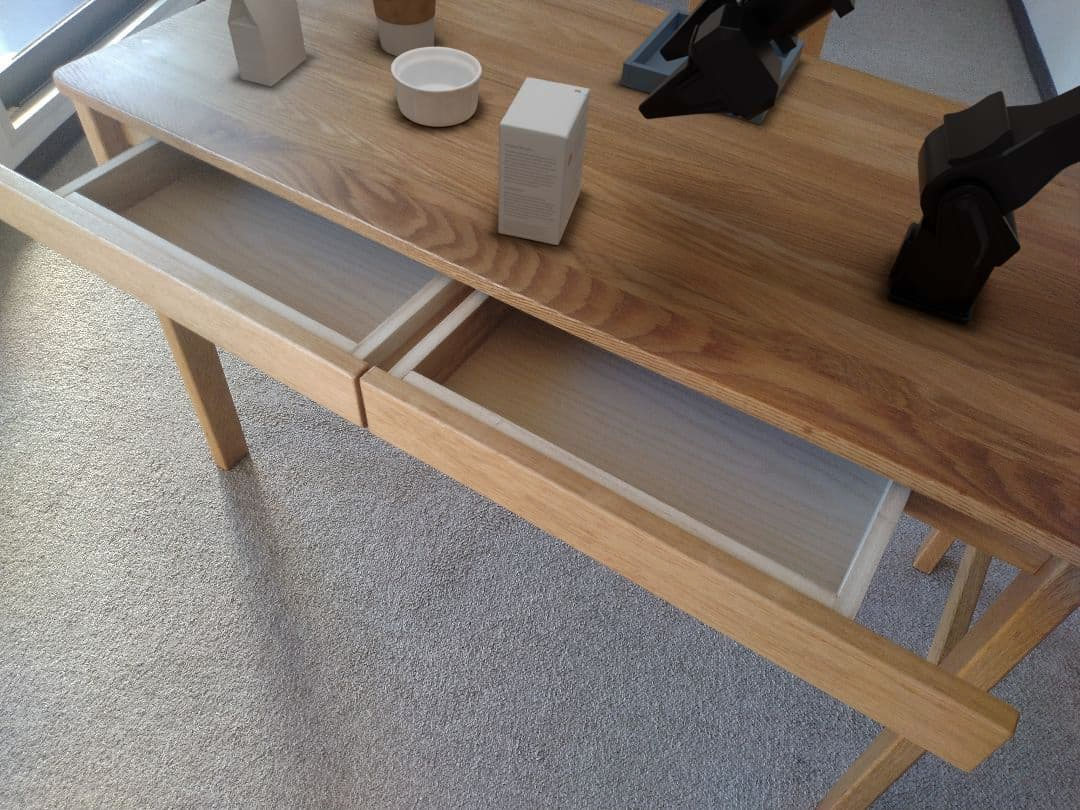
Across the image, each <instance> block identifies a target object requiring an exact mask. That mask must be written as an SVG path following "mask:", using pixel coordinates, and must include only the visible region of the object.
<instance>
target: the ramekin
mask: <svg viewBox="0 0 1080 810" xmlns="http://www.w3.org/2000/svg"><path fill="white" fill-rule="evenodd" d="M390 71H391V72H390V74H391V77H392V79H393V82H394V87H395V95H396V101H397V105H398V108H399V111H400V112H401V114H402V115H404V117H405V118H406V119H408V120H410V121H411V122H413V123H416V124H418V125H422V126H425V127H434V128H435V127H438V128H439V127H441V128H442V127H443V128H444V127H451V126H456V125H459V124H462V123H464V122H466V121H467V120H469V119H470V118H472V117H473V115H474V114H475V113H476V111H477V107H478V103H479V102H478V101H479V89H480V81H481V80H482V79H481V78H482V75H483V74H482V73H483V68H482V65H481V63H480V61H479V60H478V59H477V58H476V57H475V56H473V55H472V54H470V53H467V52H466V51H463V50H460V49H456V48H452V47H445V46H433V47H424V48H417V49H413V50H410V51H407V52H405V53H403V54H401V55H399V56H396V57H395V58H394V60H393V61H392V62H391V65H390Z"/></svg>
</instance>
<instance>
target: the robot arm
mask: <svg viewBox="0 0 1080 810" xmlns="http://www.w3.org/2000/svg"><path fill="white" fill-rule="evenodd" d="M855 10H856V0H700V2H699V3H698V4H697V5H696V6H695V7H694V9H693V10H692V11H691V14H690V15H689V16H688V17H687V18H686V19H685V21H684V22H683V23H682V24H681V25H680V26H679V28H678V29H677V30H676V31H675V32H674V33H673V35H672V36H671V37H670V38H669V39H668V40H667V42H666V43H665V44H664V45H663V46H662V47H661V49H660V54H661V55H662V57H663V58H664V59H665V60H666V61H672V60H676V59H679V58H683V57H686V56H688V58H687V59H686V60H685V61H684V62H683V63H682V64H681V65H680V66H679V67H678V68H677V69H676V70H675V71H674V72H673V73H672V74H671V75H670V76H668V77H667V78H666V79H665V80H664V81H663V82H662V83H661V84H660V85H659V86H658V87H657V88H656V89H655V90H654V91H653V92H652V93H649V94H648V95H647V96H646V98H644V99H643V101H641V103H639V104H638V111H639V113H640V114H641V115H642V117H643V118H644V119H645V120H655V119H664V118H665V119H666V118H673V117H674V118H675V117H684V116H695V115H707V114H713V115H714V114H721V113H732V114H733V115H734V116H735V117H734V118H736V117H738V116H742V118H743V119H745V120H744V121H746V120H747V122H750V120H751V119H753V118H755V117H756V116H758V115H759V114H761V113H763V112H764V111H766V110H768V109H769V108H770V109H771V108H773V107H774V106H775V102H776V100H777V98H776V95H777V92H778V88H779V83H780V76H781V70H782V64H783V62H782V61H781V59H780V58H779V56H778V55H777V53H776V52H775V50H774V49H773V47H772V46H771V44H770V43H769V42H770V41H772V40H774V41H775V43H776V44H777V46H778V47H779V49H780V51H781V52H782V54H783V55H784V54H786V53H788V52H789V51H791V50H792V49H794V48H795V47H797V42H798V40H799V35H800V34H801V33H803V32H804V31H806V30H807V29H809V28H811V27H812V26H813V25H815V24H817V23H818V22H820V21H821V20H823V19H825V17H827V16H829V15H831V13H833V12H835V13H836V15H837V16H838V17H839V19H842V18H843V17H845V16H847V15H848V14H850V13H851V12H853V11H855ZM775 99H776V100H775ZM770 109H769V110H770ZM743 119H742V120H743ZM942 119H943V123H942V124H941V125H939V126H937V127H936V128H935V129H933V130H931V131H930V132H929V133H928V135H927V136H926V137H925V138H924V141H923V142H922V145H921V147H920V149H919V151H918V154H917V174H918V175H917V176H918V177H917V178H918V191H919V192H918V193H919V206H920V209H921V212H922V216H921V218H920V220H919V222H918V223H917V222H912V223H910V224H909V226H908V227H907V229H906V232H905V234H904V236H903V238H902V240H901V242H900V245H899V247H898V250H897V251H896V254H895V256H894V258H893V260H892V263H891V266H890V268H889V273H888V275H887V277H888V279H889V280H890V281H891V283H890V285H889V288H888V292H887V298H888V299H889V301H893V302H896V303H898V304H902V305H905V306H908V307H911V308H914V309H917V310H921V311H924V312H927V313H929V314H931V315H932V314H933V315H936V316H939V317H942V318H945V319H948V320H951V321H954V322H957V323H959V324H963V325H965V324H968V323H969V322H970V320H971V319H972V316H973V311H974V306H975V303H976V300H977V299H978V297H979V295H980V294H981V292H982V290H983V288H984V287H985V285H986V283H987V281H988V280H989V279H990V277H991V275H992V273H993V271H994V269H995V268H1000V267H1002V266H1003V265H1004V264H1006V263H1007V262H1008V261H1009V260H1010V259H1011V258H1013V257H1014V256H1015V255H1016V254H1017V253H1018V252H1019V251H1021V242H1020V237H1019V231H1018V226H1017V220H1016V216H1015V211H1017V210H1019V209H1020V208H1022V207H1024V206H1025V205H1027V204H1028V203H1029V202H1030V201H1031V200H1032V199H1034V197H1036V196H1037V195H1038V193H1040V192H1041V191H1042V190H1043V189H1044V188H1045V187H1047V185H1048V184H1050V183H1051V182H1052V181H1054V179H1056V177H1057V176H1058V175H1059V174H1060V173H1061V172H1063V171H1065V170H1066V169H1068V168H1070V167H1072V166H1074V165H1076V164H1079V163H1080V85H1078V86H1075V87H1073V88H1071V89H1069V90H1066V91H1064V92H1063V93H1060V94H1058V95H1056V96H1054V97H1051V98H1050V99H1048V100H1045V101H1041V102H1038V103H1035V104H1034V103H1033V104H1021V105H1019V104H1018V105H1007V103H1006V98H1005V95H1004V91H1002V90H998V91H996V92H995V91H994V92H993V93H991V94H989V95H987V96H985V97H984V98H982V99H981V100H979V101H978V102H976V103H975V104H973V105H970V106H969V107H967V108H964V109H962V110H960V111H955V112H950V113H945V114H943V117H942Z"/></svg>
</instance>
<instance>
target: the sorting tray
mask: <svg viewBox="0 0 1080 810" xmlns="http://www.w3.org/2000/svg"><path fill="white" fill-rule="evenodd" d="M691 12H692V11H691ZM691 12H690V11H686V10H682V9H679V8H675V7H674V8H673V9H672V10H671V11H670V13H668V15H667V16H666V17H665V18H664V19H662V21H661V22H660V23H659V24H658V25H657V27H655V29H653V30H652V32H650V34H649V35H648V36H647V37H646V38H644V40H643V42H641V43H640V44H639V46H638V47H637V48H636V49H635V50H634V51H633V52H632V53H631V54H630V56H628V57H627V58H626V59H625V61H623V63H622V71H621V79H620V86H623V87H627V88H630V89H633V90H637V91H640V92H644V93H647V94H651V93H652V92H653V91H654V90H655V89H656V88H657V87H658V86H659V85H660V84H661V83H662V82H663V81H664V80H665V79H666V78H667V77H668V76H670V75H671V74H672V73H673V72H674V71H675V70H676V69H677V68H678V67H679V66H680V65H681V64H682V63H683V62H684V61H685V60H686V59H687V58H688V56H686V57H683V58H679V59H676V60H672V61H666V60H665V59H664V58H663V57H662V55H661V54H660V49H661V47H662V46H663V45H664V44H665V43H666V42H667V40H668V39H669V38H670V37H671V36H672V35H673V33H674V32H675V31H676V30H677V29H678V28H679V26H680V25H681V24H682V23H683V22H684V21H685V19H686V18H687V17H688V16H689V15H690V14H691ZM769 43H770V44H771V46H772V47H773V49H774V50H775V52H776V53H777V55H778V56H779V58H780V59H781V61H782V62H783V64H782V70H781V76H780V83H779V88H778V92H777V95H776V99H775V101H776V100H777V98H778V97H779V95H780V93H781V92H782V91H783V89H784V87H785V86H786V84H787V83H788V81H789V79H790V77H791V76H792V75H793V72H794V71H795V69H796V68H797V66H798V64H799V63H800V60H801V57H802V53H803V50H804V46H805V43H806V41H805V40H802V39H798V42H797V47H795V48H794V49H792V50H791V51H789V52H788V53H786V54H784V55H783V54H782V52H781V51H780V49H779V47H778V46H777V44H776V43H775V41H774V40H772V41H770V42H769ZM770 109H771V108H769V109H768V110H766V111H764V112H763V113H761V114H759V115H758V116H756V117H755V118H753V119H751V120H750V121H749V122H750V123H754V124H757V125H761V124H762V122H763V121H764V119H765V118H766V116H767V114H768V113H769V111H770ZM720 114H722V115H725V116H729V117H733V118H735V119H740V120H743V121H747V120H745V119H743V118H742V116H738V117H735V116H734V115H733V114H732V113H720ZM747 122H748V121H747Z"/></svg>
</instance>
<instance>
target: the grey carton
mask: <svg viewBox="0 0 1080 810" xmlns="http://www.w3.org/2000/svg"><path fill="white" fill-rule="evenodd" d="M230 1H231V2H230V7H229V11H228V12H229V13H228V18H227V25H228V30H229V34H230V38H231V43H232V47H233V50H234V51H233V52H234V56H235V60H236V64H237V68H238V72H239V77H240V79H241V80H243V81H247V82H251V83H256V84H259V85H262V86H267V87H273V86H274V85H276V84H277V83H278V82H280V81H281V80H282V79H283V78H284V77H286V76H287V75H288V74H290V73H291V72H292V71H293V70H295V69H296V68H297V67H298V66H299V65H301V64H303V62H305V61H306V60H307V58H308V57H307V53H306V46H305V41H304V35H303V29H302V22H301V16H300V11H299V5H298V2H297V0H230Z"/></svg>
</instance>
